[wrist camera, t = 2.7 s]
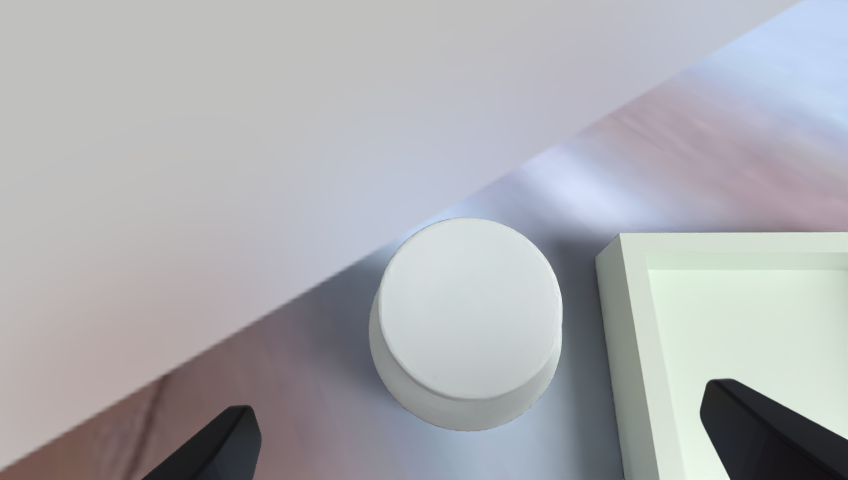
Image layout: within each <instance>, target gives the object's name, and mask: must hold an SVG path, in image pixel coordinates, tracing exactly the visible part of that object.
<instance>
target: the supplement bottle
mask: <svg viewBox="0 0 848 480" xmlns="http://www.w3.org/2000/svg"><path fill="white" fill-rule="evenodd" d="M561 325H562V297H561V292H560V288H559V285H558V282H557V279H556V276H555V274H554V272H553V270H552V268H551V266H550V264H549V262H548V261H547V259H546V258H545V257H544V255H543V254H542V253H541V252H540V250H539V249H538V248H537V247H536V246H535V245H534V244H533V243H532V242H530V241H529V240H528V239H527V238H526V237H525V236H523V235H522V234H520V233H518V232H517V231H515V230H514V229H512V228H510V227H508V226H505V225H503V224H500V223H497V222H494V221H491V220H487V219H480V218H469V217H462V218H452V219H447V220H443V221H439V222H437V223H434V224H432V225H429V226H427V227H425V228H423V229H421V230H420V231H418V232H416V233H415V234H414V235H412V236H411V237H410V238H409V239H407V240H406V241H405V242H404V243H403V244H402V245H401V246H400V247H399V248H398V250H397V251H396V252H395V254H394V255H393V256H392V258H391V259H390V261H389V263H388V265H387V267H386V269H385V271H384V274H383V276H382V278H381V282H380V286H379V288H378V290H377V292H376V294H375V298H374V301H373V304H372V307H371V312H370V319H369V343H370V349H371V354H372V358H373V361H374V364H375V367H376V369H377V371H378V374H379V376H380V378H381V380H382V381H383V383H384V384H385V386H386V388H387V389H388V390H389V392H390V393H391V394H392V395H393V397H394V398H395V399H396V400H397V401H398V402H399V403H400V404H401V405H402V406H403V407H404V408H405V409H407V410H408V411H409V412H411V413H412V414H414V415H415V416H417V417H418V418H420V419H422V420H424V421H426V422H428V423H430V424H433V425H435V426H438V427H442V428H445V429H450V430H456V431H480V430H487V429H491V428H494V427H498V426H500V425H503V424H506V423H508V422H510V421H512V420H514V419H515V418H517V417H519V416H520V415H522V414H523V413H524V412H525V411H527V410H528V409H529V408H530V407H531V406H532V405H533V404H534V403H535V402H537V400H538V399H539V398H540V397H541V396H542V394H543V393H544V392H545V390H546V389H547V387H548V385H549V384H550V382H551V380H552V378H553V376H554V373H555V371H556V368H557V365H558V361H559V358H560V353H561V346H562V327H561Z"/></svg>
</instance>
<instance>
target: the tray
mask: <svg viewBox="0 0 848 480" xmlns="http://www.w3.org/2000/svg"><path fill="white" fill-rule="evenodd" d="M594 259H595V266H596V274H597V281H598V288H599V296H600V303H601V310H602V318H603V325H604V332H605V339H606V347H607V354H608V361H609V369H610V376H611V383H612V391H613V398H614V405H615V413H616V420H617V427H618V434H619V442H620V449H621V456H622V464H623V471H624V478H625V480H730V478H729V476H728V474H727V472H726V470H725V468H724V466H723V464H722V462H721V460H720V458H719V456H718V454H717V452H716V451H715V449H714V447H713V445H712V443H711V441H710V439H709V437H708V435H707V433H706V431H705V429H704V427H703V424H702V422H701V419H700V407H701V403H702V399H703V395H704V391H705V387H706V384H707V382H708V381H709V380H711V379H722V378H731V379H735V380H737V381H739V382H741V383H743V384H745V385H746V386H748V387H750V388H752V389H754V390H756V391H758V392H760V393H761V394H763V395H765V396H767V397H769V398H771V399H773V400H775V401H776V402H778V403H780V404H782V405H784V406H786V407H788V408H790V409H791V410H793V411H795V412H797V413H799V414H801V415H803V416H805V417H806V418H808V419H810V420H812V421H814V422H816V423H818V424H820V425H821V426H823V427H825V428H827V429H829V430H831V431H833V432H834V433H836V434H838V435H840V436H842V437H844V438H846V439H848V232H782V233H619V234H618V235H617V236H616V237H615V238H614V239H613V240H612V241H611V242H610V243H609V244H608V245H607V246H606V247H605V248H604V249H603V250H602V251H601V252H600V253H599V254H598V255H597V256H596V257H595V258H594Z"/></svg>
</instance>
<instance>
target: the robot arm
mask: <svg viewBox="0 0 848 480" xmlns="http://www.w3.org/2000/svg"><path fill="white" fill-rule="evenodd" d="M700 419H701V422H702V424H703V427H704V429H705V431H706V433H707V435H708V437H709V439H710V441H711V443H712V445H713V447H714V449H715V451H716V452H717V454H718V456H719V458H720V460H721V462H722V464H723V466H724V468H725V470H726V472H727V474H728V476H729V478H730V480H848V439H846V438H844V437H842V436H840V435H838V434H836V433H834V432H833V431H831V430H829V429H827V428H825V427H823V426H821V425H820V424H818V423H816V422H814V421H812V420H810V419H808V418H806V417H805V416H803V415H801V414H799V413H797V412H795V411H793V410H791V409H790V408H788V407H786V406H784V405H782V404H780V403H778V402H776V401H775V400H773V399H771V398H769V397H767V396H765V395H763V394H761V393H760V392H758V391H756V390H754V389H752V388H750V387H748V386H746V385H745V384H743V383H741V382H739V381H737V380H735V379H731V378H722V379H711V380H709V381H708V382H707V384H706V387H705V391H704V395H703V399H702V403H701V407H700ZM260 448H261V432H260V429H259V426H258V423H257V420H256V416H255V413H254V410H253V408H252V407H251V406H249V405H237V406H230V407H228V408H227V409H225V410H224V411H223V412H222V413H220V414H219V415H218V416H217V417H216V418H214V419H213V420H212V421H211V422H210V423H209V424H207V425H206V426H205V427H204V428H203V429H201V430H200V431H199V432H198V433H197V434H195V435H194V436H193V437H192V438H191V439H189V440H188V441H187V442H186V443H185V444H183V445H182V446H181V447H180V448H179V449H177V450H176V451H175V452H174V453H173V454H171V455H170V456H169V457H168V458H167V459H165V460H164V461H163V462H162V463H161V464H159V465H158V466H157V467H156V468H155V469H153V470H152V471H151V472H150V473H149V474H147V475H146V476H145V477H144V478H143V479H141V480H253V476H254V472H255V468H256V464H257V460H258V456H259V452H260Z"/></svg>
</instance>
